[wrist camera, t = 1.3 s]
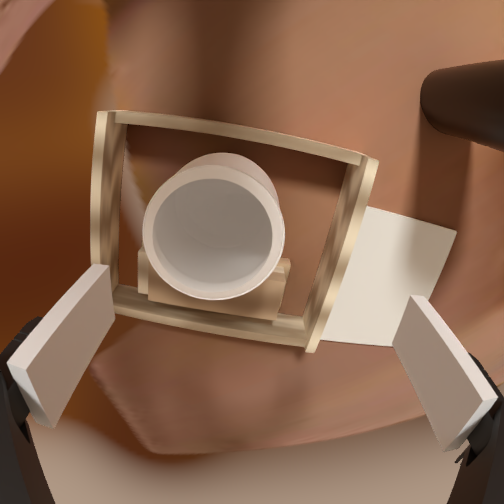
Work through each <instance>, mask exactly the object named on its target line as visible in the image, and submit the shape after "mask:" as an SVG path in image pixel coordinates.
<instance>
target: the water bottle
mask: <svg viewBox="0 0 504 504" xmlns="http://www.w3.org/2000/svg"><path fill="white" fill-rule="evenodd" d="M421 105H422V109H423V112H424V114H425V116H426V118H427V120H428V121H429V123H430V124H431V125H432V126H433V127H434V128H435V129H437V130H438V131H440V132H442V133H445V134H448V135H452V136H456V137H459V138H463V139H466V140H470V141H473V142H476V143H478V144H483V145H484V146H489V147H490V148H493V149H496V150H499V151H502V152H503V151H504V60H497V61H489V62H482V63H475V64H468V65H462V66H456V67H450V68H445V69H439V70H435V71H433V72H431V73H430V74H429V75H428V76H427V77H426V78H425V80H424V82H423V84H422V88H421Z"/></svg>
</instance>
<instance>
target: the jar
mask: <svg viewBox="0 0 504 504" xmlns="http://www.w3.org/2000/svg"><path fill="white" fill-rule="evenodd" d="M142 234H143V243H144V248H145V251H146V254H147V257H148V259H149V261H150V263H151V265H152V266H153V268H154V269H155V271H156V272H157V273H158V274H159V276H160V277H161V278H162V279H163V280H164V281H165V282H167V283H168V284H169V285H170V286H172V287H173V288H175V289H176V290H178V291H180V292H182V293H184V294H186V295H189V296H192V297H195V298H199V299H205V300H224V299H230V298H234V297H238V296H241V295H243V294H245V293H248V292H250V291H251V290H253V289H255V288H256V287H258V286H259V285H260V284H261V283H263V282H264V281H265V280H266V279H267V278H268V277H269V275H270V274H271V273H272V272H273V270H274V269H275V267H276V265H277V264H278V262H279V259H280V257H281V254H282V251H283V247H284V241H285V227H284V220H283V216H282V213H281V210H280V207H279V200H278V196H277V193H276V190H275V188H274V185H273V183H272V182H271V180H270V178H269V177H268V176H267V174H266V173H265V172H264V171H263V170H262V169H261V168H260V167H259V166H258V165H257V164H255V163H254V162H253V161H251V160H249V159H247V158H245V157H243V156H241V155H238V154H233V153H213V154H208V155H204V156H201V157H199V158H197V159H194V160H193V161H191V162H189V163H188V164H186V165H185V166H183V167H182V168H181V169H180V170H179V171H178V172H177V173H176V174H175V175H174V176H172V177H171V178H170V179H168V180H167V181H166V182H165V183H164V184H163V185H162V186H161V187H160V188H159V189H158V190H157V191H156V193H155V194H154V195H153V197H152V199H151V200H150V202H149V204H148V206H147V209H146V212H145V215H144V220H143V228H142Z"/></svg>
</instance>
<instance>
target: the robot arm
mask: <svg viewBox="0 0 504 504" xmlns="http://www.w3.org/2000/svg"><path fill="white" fill-rule="evenodd" d="M114 320H115V314H114V306H113V298H112V289H111V279H110V268H109V265H102V264H93V265H92V266H91V267H90V268H89V269H88V270H87V271H86V272H85V273H84V274H83V275H82V276H81V277H80V278H79V279H78V280H77V281H76V282H75V284H74V285H73V286H72V287H71V288H70V289H69V290H68V291H67V292H66V293H65V294H64V295H63V297H62V298H61V299H60V300H59V301H58V302H57V303H56V304H55V305H54V307H53V308H52V309H51V310H50V311H49V312H48V313H47V314H46V316H45V317H44V318H42V317H36V318H34V319H33V320H31V321H29V322H28V323H27V324H26V325H25V326H24V327H23V328H22V329H21V330H20V333H18V334H17V335H16V336H15V337H14V340H12V341H11V342H10V343H9V344H8V346H7V347H6V348H5V349H4V350H3V352H2V353H1V354H0V504H55V502H54V499H53V497H52V494H51V492H50V489H49V487H48V484H47V481H46V479H45V476H44V473H43V470H42V468H41V465H40V462H39V459H38V456H37V452H36V449H35V446H34V443H33V439H32V436H31V432H30V428H29V425H28V423H27V421H26V417H27V416H28V414H29V412H30V413H31V415H32V416H33V418H34V420H35V422H37V423H39V424H42V425H44V426H47V427H50V428H52V429H54V428H55V426H56V424H57V422H58V420H59V418H60V416H61V414H62V412H63V410H64V408H65V406H66V404H67V403H68V401H69V399H70V397H71V395H72V393H73V391H74V390H75V388H76V386H77V384H78V382H79V380H80V379H81V377H82V375H83V373H84V371H85V370H86V368H87V366H88V364H89V363H90V361H91V359H92V357H93V356H94V354H95V352H96V351H97V349H98V347H99V345H100V344H101V342H102V340H103V339H104V337H105V335H106V334H107V332H108V330H109V328H110V327H111V325H112V324H113V322H114ZM392 346H393V347H394V349H395V351H396V353H397V355H398V357H399V359H400V361H401V363H402V365H403V367H404V369H405V371H406V373H407V375H408V377H409V379H410V381H411V383H412V385H413V387H414V389H415V391H416V394H417V396H418V398H419V400H420V402H421V404H422V406H423V408H424V411H425V413H426V415H427V417H428V419H429V421H430V424H431V426H432V428H433V430H434V433H435V435H436V437H437V439H438V442H439V444H440V446H441V449H442V451H443V452H446V451H450V450H454V449H458V448H459V447H460V446H461V445H462V444H463V442H464V441H465V440H466V439H468V441H469V443H470V445H469V446H468V447H467V448H466V449H465V450H464V452H463V453H462V454H461V455H460V456H459V457H458V458H457V460H456V461H455V463H458V462H459V461H460V460H461V459H462V458H463V460H462V463H461V464H460V465H461V466H460V469H459V472H458V475H457V478H456V481H455V484H454V487H453V489H452V492H451V495H450V498H449V500H448V502H447V504H504V397H503V395H502V394H501V392H500V391H499V390H498V388H497V386H496V385H495V384H494V382H493V381H492V379H491V378H490V377H489V375H488V373H487V372H486V371H485V370H484V368H483V366H482V365H481V364H480V362H479V361H478V360H477V359H476V358H475V357H474V356H473V355H471V354H470V353H467V351H466V350H465V349H464V347H463V346H462V344H461V343H460V342H459V340H458V339H457V338H456V336H455V335H454V334H453V332H452V331H451V330H450V328H449V327H448V326H447V325H446V323H445V322H444V321H443V319H442V318H441V317H440V316H439V314H438V313H437V312H436V311H435V309H434V308H433V307H432V305H431V304H430V303H429V302H428V301H427V299H426V298H425V297H424V296H418V295H410V297H409V300H408V303H407V305H406V308H405V311H404V314H403V316H402V319H401V321H400V324H399V327H398V329H397V332H396V334H395V337H394V339H393V341H392Z"/></svg>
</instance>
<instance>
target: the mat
mask: <svg viewBox="0 0 504 504" xmlns="http://www.w3.org/2000/svg"><path fill="white" fill-rule="evenodd" d="M456 233H457V231H455V230H452V229H449V228H445V227H442V226H439V225H435V224H432V223H428V222H425V221H421V220H418V219H414V218H411V217H407V216H403V215H400V214H396V213H392V212H388V211H384V210H381V209H377V208H373V207H369V206H366V210H365V213H364V216H363V220H362V223H361V226H360V229H359V232H358V236H357V239H356V242H355V245H354V248H353V251H352V254H351V257H350V260H349V263H348V266H347V269H346V271H345V274H344V277H343V280H342V283H341V286H340V288H339V291H338V294H337V296H336V299H335V302H334V305H333V307H332V310H331V313H330V315H329V318H328V320H327V323H326V325H325V328H324V331H323V333H322V336H321V338H320V340H328V341H337V342H347V343H357V344H368V345H380V346H392V341H393V339H394V337H395V334H396V332H397V329H398V327H399V324H400V321H401V319H402V316H403V314H404V311H405V308H406V305H407V303H408V300H409V297H410V295H418V296H424V297H425V298H426V299H427V301H428V300H429V298H430V296H431V294H432V291H433V289H434V287H435V285H436V283H437V280H438V278H439V276H440V273H441V271H442V269H443V266H444V264H445V262H446V259H447V257H448V254H449V252H450V249H451V247H452V244H453V241H454V239H455V236H456Z"/></svg>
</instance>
